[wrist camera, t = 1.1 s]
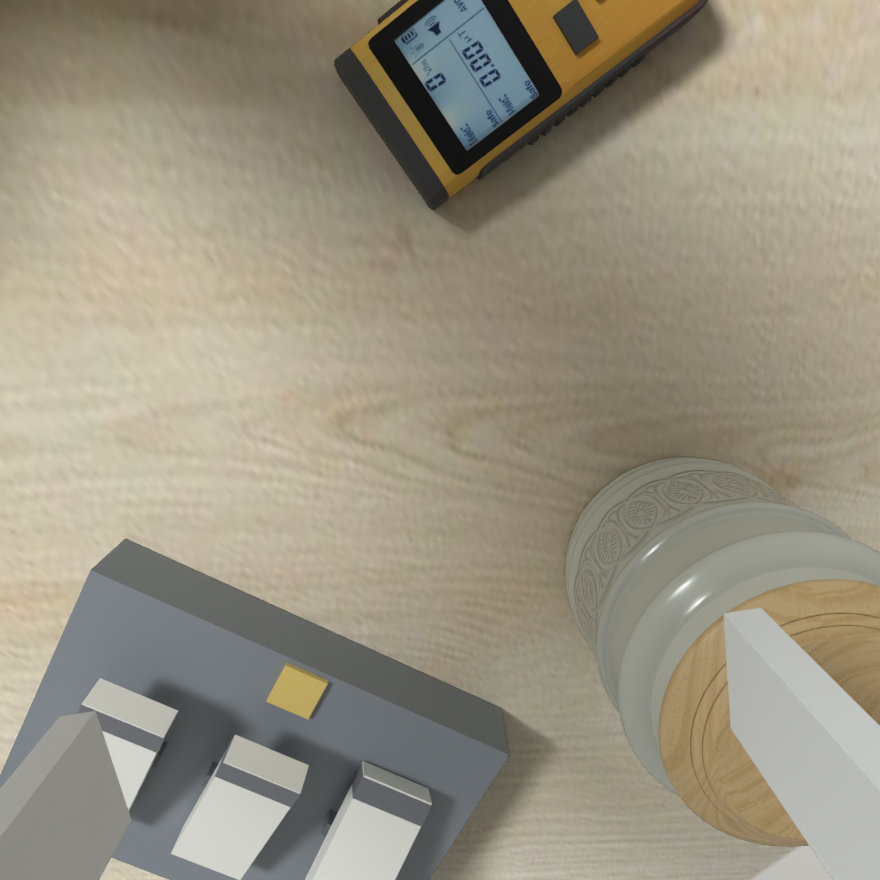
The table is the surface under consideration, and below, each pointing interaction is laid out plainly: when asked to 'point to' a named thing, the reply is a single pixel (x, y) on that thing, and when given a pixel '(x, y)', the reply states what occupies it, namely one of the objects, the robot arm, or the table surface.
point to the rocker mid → (240, 807)
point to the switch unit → (260, 712)
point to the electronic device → (492, 75)
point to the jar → (713, 620)
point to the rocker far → (372, 828)
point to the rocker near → (129, 731)
